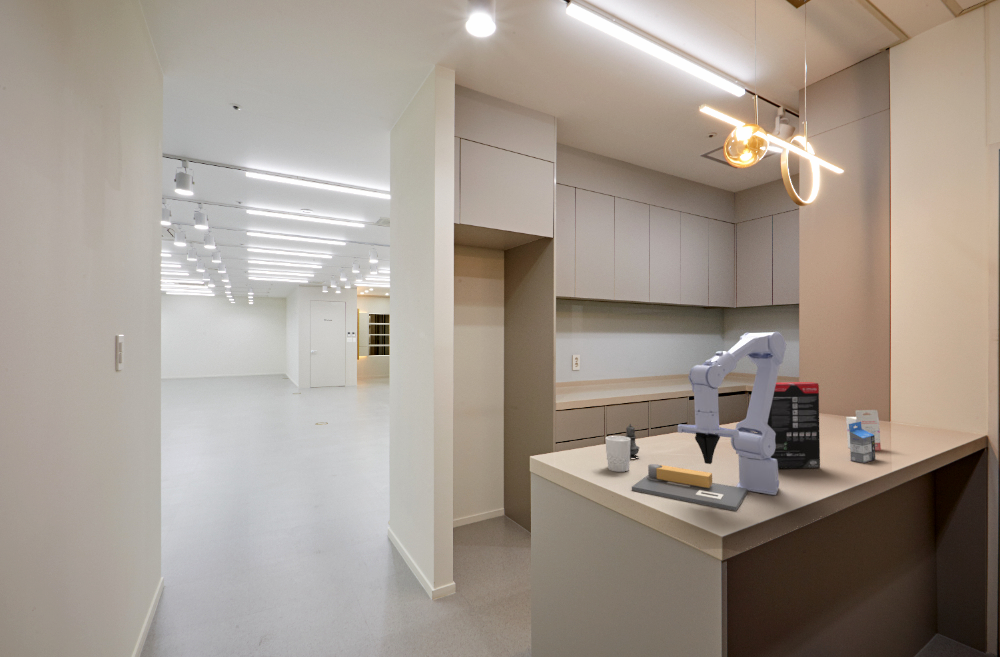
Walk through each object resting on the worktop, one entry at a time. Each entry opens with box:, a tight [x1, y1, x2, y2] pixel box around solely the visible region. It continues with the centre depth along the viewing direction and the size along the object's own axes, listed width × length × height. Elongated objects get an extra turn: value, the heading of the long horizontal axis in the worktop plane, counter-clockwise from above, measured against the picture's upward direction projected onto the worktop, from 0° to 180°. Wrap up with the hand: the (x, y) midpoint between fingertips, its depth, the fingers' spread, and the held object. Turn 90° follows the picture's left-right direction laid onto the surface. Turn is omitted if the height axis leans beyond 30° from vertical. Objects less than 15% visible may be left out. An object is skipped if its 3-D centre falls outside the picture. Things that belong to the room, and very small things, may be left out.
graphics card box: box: [756, 381, 821, 469], centre depth 140 cm, size 17×7×27 cm, turn 92°
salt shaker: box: [625, 423, 640, 458], centre depth 155 cm, size 6×6×12 cm
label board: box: [631, 474, 748, 512], centre depth 119 cm, size 26×16×1 cm, turn 52°
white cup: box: [604, 435, 631, 473], centre depth 141 cm, size 8×8×10 cm
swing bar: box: [647, 463, 713, 488], centre depth 124 cm, size 17×4×3 cm, turn 52°
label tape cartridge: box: [849, 421, 877, 464], centre depth 146 cm, size 9×4×12 cm, turn 119°
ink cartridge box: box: [845, 409, 882, 452], centre depth 160 cm, size 9×5×15 cm, turn 90°
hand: (708, 462), depth 114 cm, fingers closed
